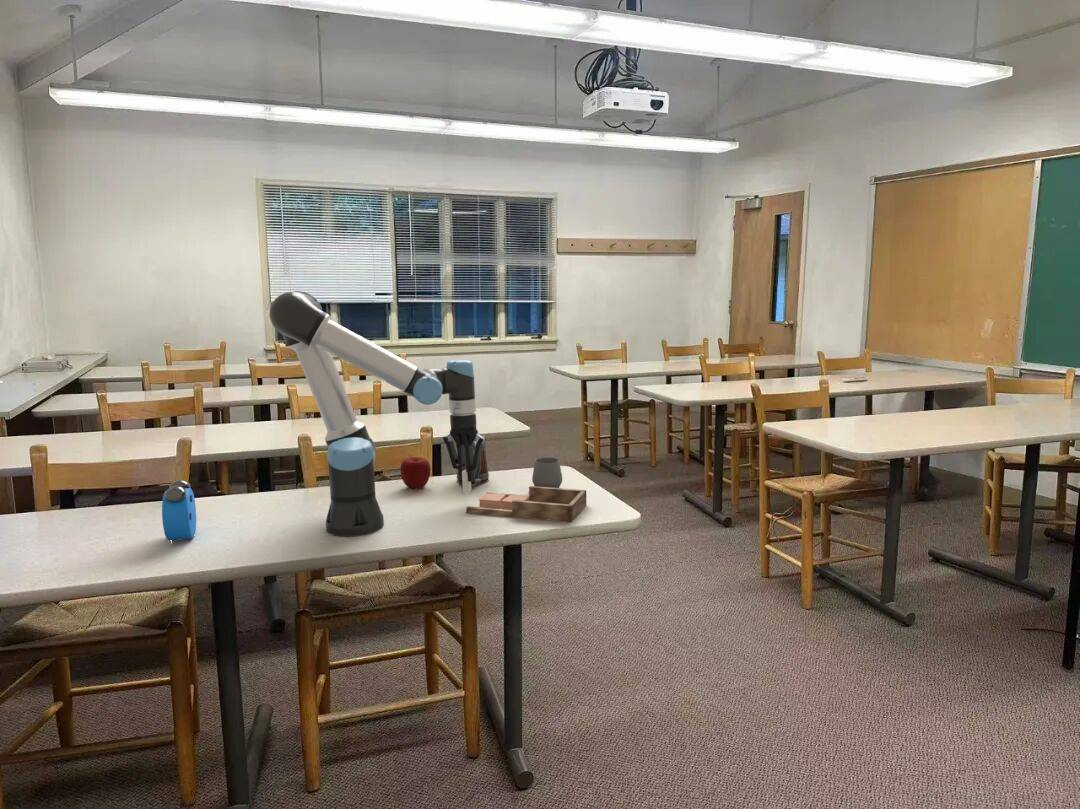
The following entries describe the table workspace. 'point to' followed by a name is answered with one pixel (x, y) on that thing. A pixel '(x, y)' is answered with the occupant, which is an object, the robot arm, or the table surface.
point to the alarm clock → (179, 511)
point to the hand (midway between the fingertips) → (467, 491)
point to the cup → (547, 472)
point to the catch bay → (542, 504)
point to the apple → (415, 472)
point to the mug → (482, 471)
